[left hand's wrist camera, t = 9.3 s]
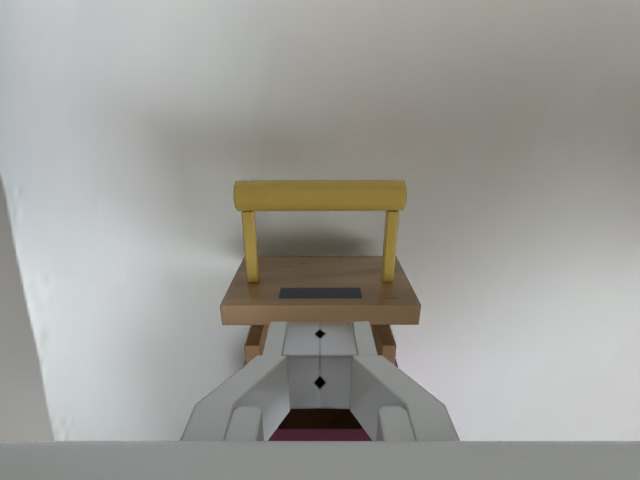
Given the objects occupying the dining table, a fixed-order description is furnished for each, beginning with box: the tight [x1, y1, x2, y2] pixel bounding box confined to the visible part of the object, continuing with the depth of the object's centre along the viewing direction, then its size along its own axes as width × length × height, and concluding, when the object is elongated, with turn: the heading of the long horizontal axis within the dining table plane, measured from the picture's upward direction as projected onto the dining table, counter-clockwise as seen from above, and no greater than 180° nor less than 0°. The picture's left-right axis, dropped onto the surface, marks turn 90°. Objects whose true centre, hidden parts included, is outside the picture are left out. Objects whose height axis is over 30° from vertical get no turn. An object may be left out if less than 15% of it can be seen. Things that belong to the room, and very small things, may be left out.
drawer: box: [220, 180, 421, 429], centre depth 23 cm, size 24×10×6 cm, turn 0°
